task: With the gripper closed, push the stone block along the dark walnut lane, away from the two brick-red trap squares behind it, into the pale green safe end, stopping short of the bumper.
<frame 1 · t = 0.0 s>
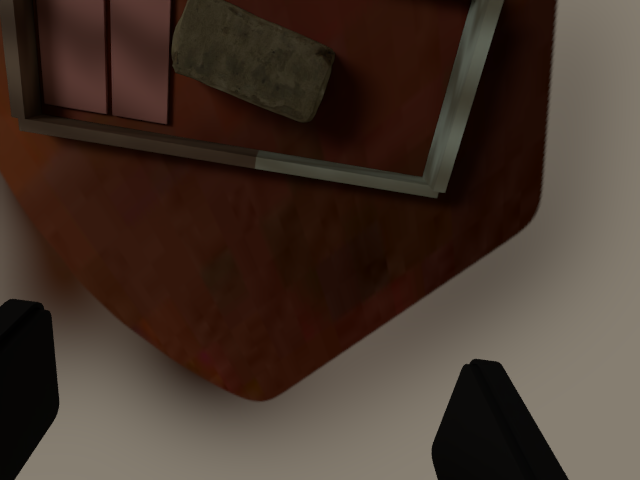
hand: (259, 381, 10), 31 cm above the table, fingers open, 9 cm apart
stone block: (258, 57, 36), on the table
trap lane: (306, 66, 36), on the table
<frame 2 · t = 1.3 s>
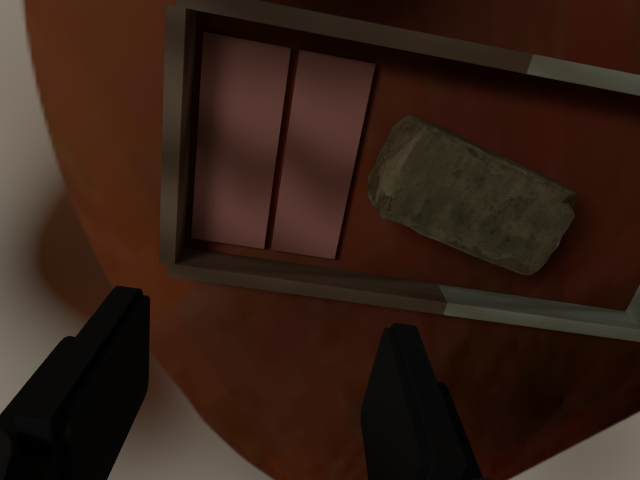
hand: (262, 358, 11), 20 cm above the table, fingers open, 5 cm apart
stone block: (454, 181, 30), on the table
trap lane: (511, 195, 30), on the table
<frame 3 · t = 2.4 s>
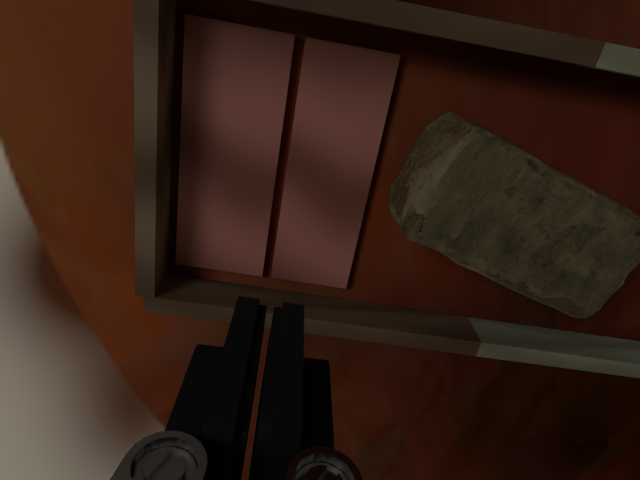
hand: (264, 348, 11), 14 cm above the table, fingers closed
stone block: (493, 196, 25), on the table
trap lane: (561, 215, 25), on the table
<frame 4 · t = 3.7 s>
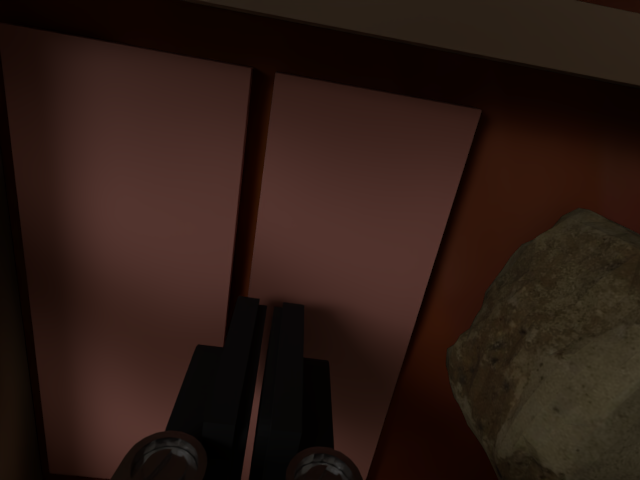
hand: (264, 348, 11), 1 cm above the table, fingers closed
stone block: (633, 348, 13), on the table
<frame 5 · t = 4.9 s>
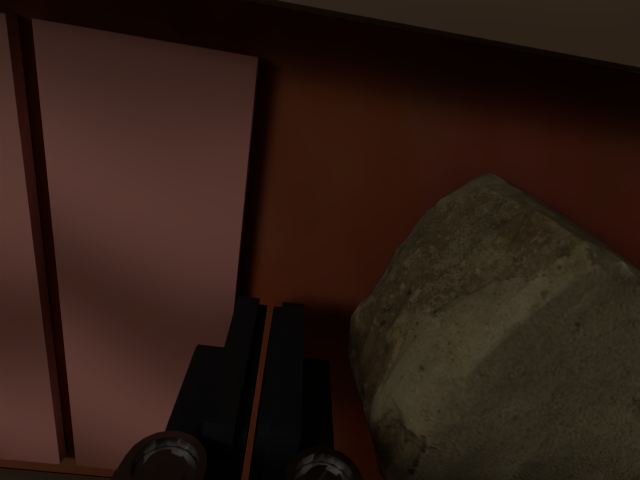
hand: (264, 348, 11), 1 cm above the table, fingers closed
stone block: (548, 330, 13), on the table, touching gripper
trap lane: (607, 354, 13), on the table
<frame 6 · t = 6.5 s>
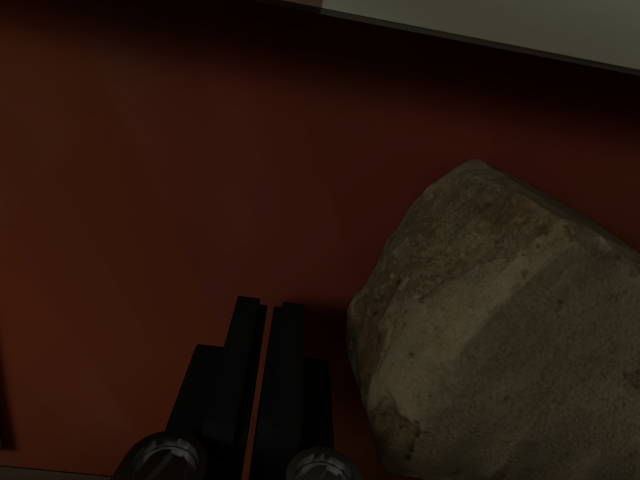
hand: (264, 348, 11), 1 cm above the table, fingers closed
stone block: (547, 313, 13), on the table, touching gripper
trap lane: (378, 325, 13), on the table
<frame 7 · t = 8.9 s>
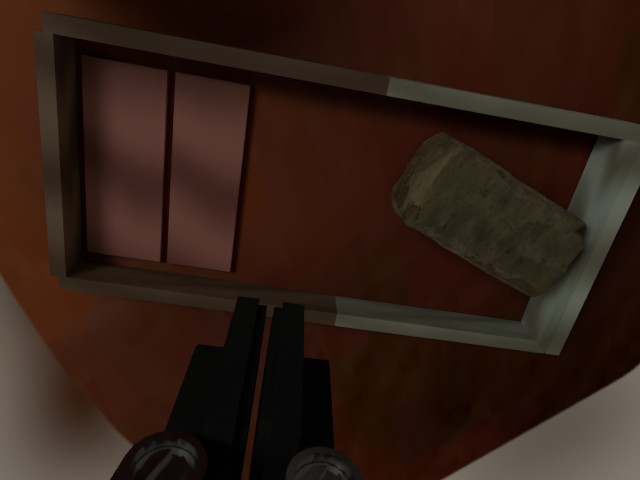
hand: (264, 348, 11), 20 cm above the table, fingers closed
stone block: (471, 201, 31), on the table
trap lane: (397, 210, 31), on the table
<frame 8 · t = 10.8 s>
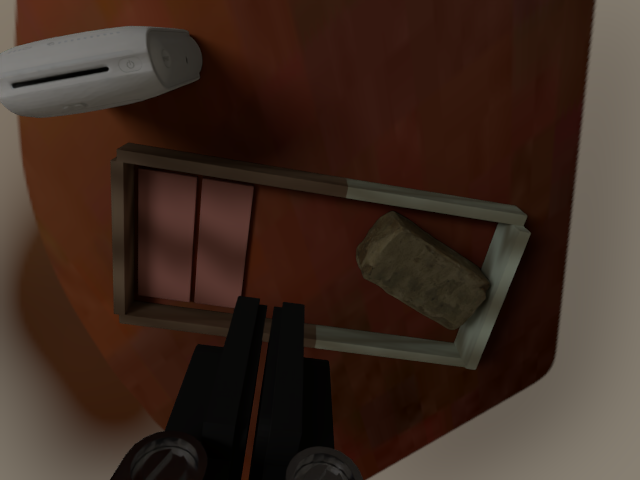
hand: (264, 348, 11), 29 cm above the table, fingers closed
stone block: (415, 256, 43), on the table
photo printer: (141, 64, 36), on the table
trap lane: (359, 266, 43), on the table
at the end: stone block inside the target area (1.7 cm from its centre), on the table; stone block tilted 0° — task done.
